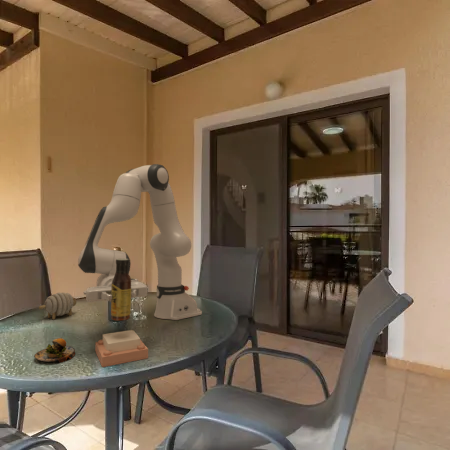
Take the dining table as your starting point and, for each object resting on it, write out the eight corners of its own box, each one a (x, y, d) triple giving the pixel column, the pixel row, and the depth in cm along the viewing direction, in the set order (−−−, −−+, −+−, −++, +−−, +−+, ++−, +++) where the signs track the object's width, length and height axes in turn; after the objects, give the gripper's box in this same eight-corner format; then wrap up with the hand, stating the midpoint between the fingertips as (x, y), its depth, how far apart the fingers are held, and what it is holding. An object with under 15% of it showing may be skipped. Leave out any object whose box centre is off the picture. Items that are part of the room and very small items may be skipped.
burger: (32, 355, 107) (32, 333, 107) (71, 348, 114) (71, 326, 114) (36, 369, 97) (36, 344, 97) (78, 360, 104) (78, 336, 104)
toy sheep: (82, 314, 155) (82, 291, 155) (47, 323, 140) (47, 297, 140) (68, 311, 160) (68, 288, 160) (33, 319, 146) (33, 294, 146)
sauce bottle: (109, 317, 110) (111, 257, 110) (129, 315, 112) (130, 257, 112) (111, 322, 104) (112, 260, 104) (131, 320, 106) (133, 259, 106)
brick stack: (136, 344, 117) (137, 327, 117) (148, 358, 105) (148, 339, 105) (95, 351, 111) (95, 333, 111) (102, 367, 98) (102, 347, 98)
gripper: (82, 282, 114) (87, 289, 102) (141, 278, 124) (152, 284, 112) (82, 300, 114) (87, 309, 102) (141, 295, 124) (151, 303, 112)
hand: (121, 296), depth 107 cm, fingers closed on sauce bottle, 6 cm apart
